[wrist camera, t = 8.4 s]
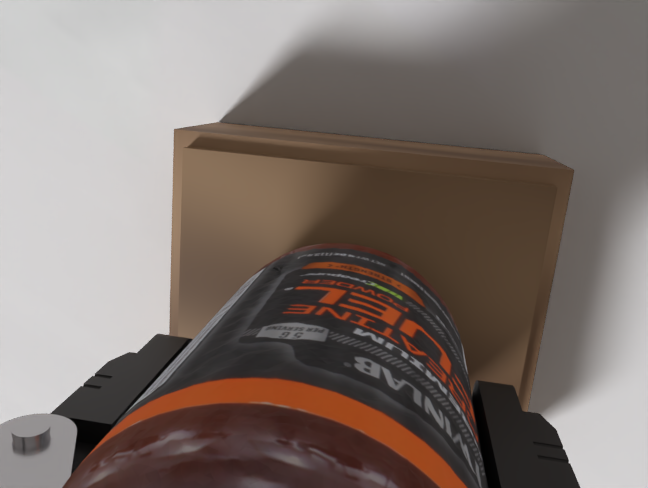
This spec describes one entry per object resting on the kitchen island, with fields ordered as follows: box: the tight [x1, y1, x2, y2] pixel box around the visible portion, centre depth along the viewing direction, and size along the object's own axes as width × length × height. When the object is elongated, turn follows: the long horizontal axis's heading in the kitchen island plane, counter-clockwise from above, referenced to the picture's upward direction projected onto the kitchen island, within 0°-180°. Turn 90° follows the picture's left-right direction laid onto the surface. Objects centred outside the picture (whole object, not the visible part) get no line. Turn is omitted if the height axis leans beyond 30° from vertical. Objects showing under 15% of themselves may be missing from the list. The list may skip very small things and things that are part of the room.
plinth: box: [169, 122, 574, 412], centre depth 18 cm, size 10×10×4 cm
